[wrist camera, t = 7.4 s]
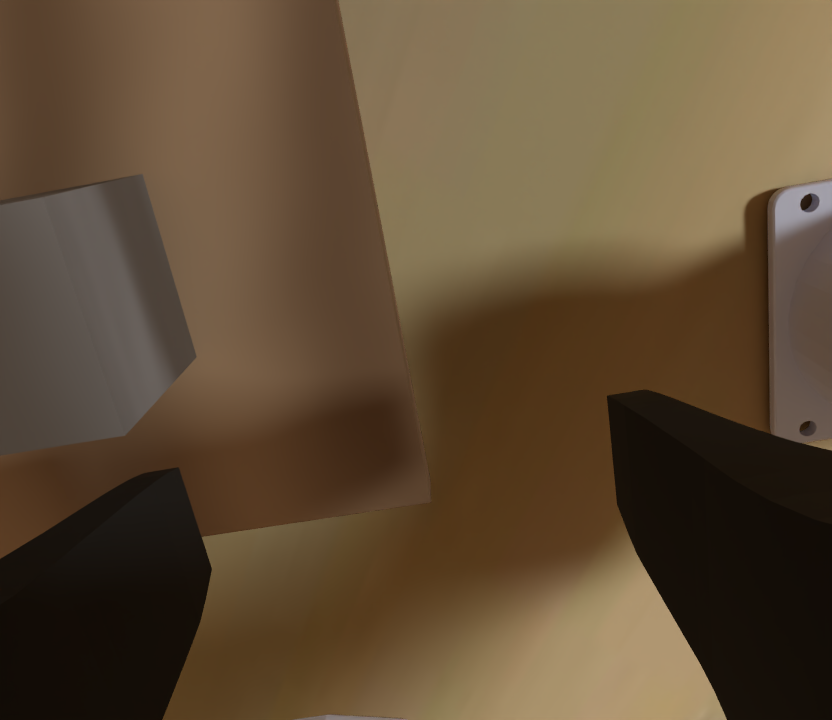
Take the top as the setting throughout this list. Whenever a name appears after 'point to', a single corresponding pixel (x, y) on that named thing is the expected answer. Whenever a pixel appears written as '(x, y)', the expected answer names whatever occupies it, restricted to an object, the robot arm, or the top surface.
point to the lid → (194, 267)
